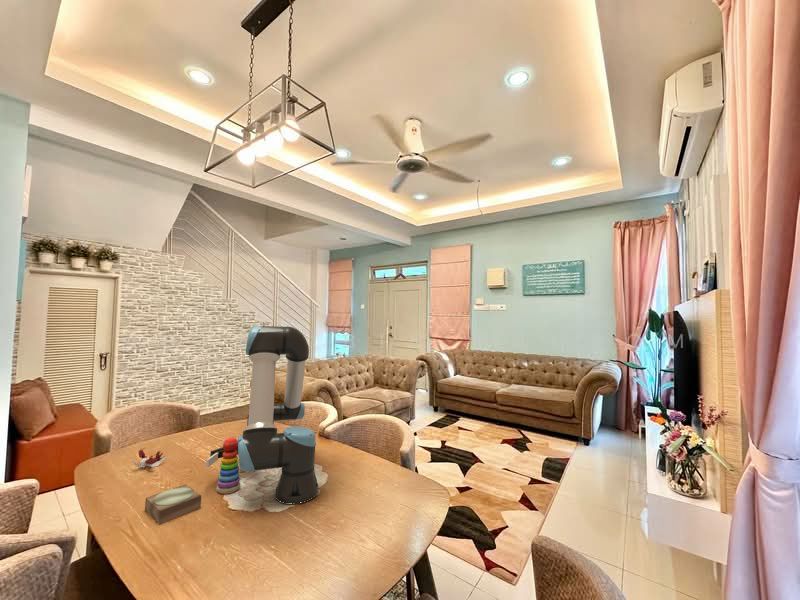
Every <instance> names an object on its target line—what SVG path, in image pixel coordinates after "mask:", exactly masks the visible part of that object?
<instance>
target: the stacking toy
mask: <svg viewBox="0 0 800 600" xmlns="http://www.w3.org/2000/svg"><path fill="white" fill-rule="evenodd" d="M237 446H238V438H236V437H232V436H231V437H228V438H226V439H224V441H223V444H222V447H223V448H224V450H225V451H224V452H223V457H222V458H221V464H220V470H219V476H218V480H217V482H216V483H217V486H216V492H217V493H219V494H227V495H228V494H232V493H234V492H236V491H237V490H239V489H240V488H241V482H240V480H241V478H240V466H239V456H238V455H237V453H238V452H237V450H235V449H236V448H237Z"/></svg>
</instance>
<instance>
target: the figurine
mask: <svg viewBox="0 0 800 600" xmlns="http://www.w3.org/2000/svg"><path fill="white" fill-rule="evenodd" d="M145 449H146V448H145V447H142V448H141V449H140V450H138V456H139V458H141V460H140V462H139V463H137V462H136V461H133V462H132V463H133V464H134V465H135V467H136V468H139V469H141V468H142V469H144V468H145V467H146V466H148V467H150V468H157V467H156V466H158V467H159V466H160V465H161V463H162V462H163V461H164V460H165V459H167V456H166V455H164V456H162V455H163V453H164V452H161V450H158V451H157V453H156V454H154V455H150V456H149V457H148V456H147V455H146V453H145V451H144V450H145ZM154 456H155V457H154Z"/></svg>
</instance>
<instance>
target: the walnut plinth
mask: <svg viewBox="0 0 800 600" xmlns="http://www.w3.org/2000/svg"><path fill="white" fill-rule="evenodd" d="M201 505H202V495H201V494H200V493H198V491H196V490H194V489H193V488H191V487H190V486H189V485H188V484H183V485H180V486H177V487H174V488H172V489H171V488H170V489H168V490H164V491H162V492H160V493H156V494H154V495H150V496H147V497H145V502H144V511H145V512H146V514H148V515H149V516H150V517H151V518H152V519H153V520H154V521H155V520H156V521H157V522H158V523H159V524H158V523H157V522H156V521H155V522H156V523H157V524H158V525H161V524H163V523H162V522H164V523H166V522H169V521H171V520H174V519H177V518H179V517H181V516H184V515H186V514H189V513H191V512H193V510H194V511H196V510H198V508H199V509H201V508H202V507H201ZM188 512H189V513H188ZM168 520H169V521H168ZM165 521H166V522H165Z"/></svg>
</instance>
